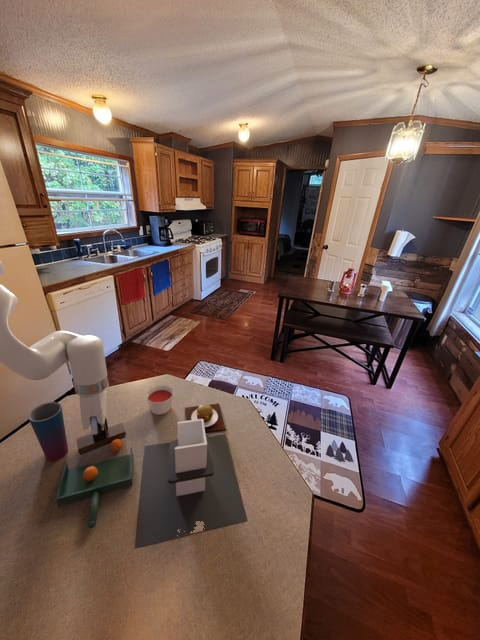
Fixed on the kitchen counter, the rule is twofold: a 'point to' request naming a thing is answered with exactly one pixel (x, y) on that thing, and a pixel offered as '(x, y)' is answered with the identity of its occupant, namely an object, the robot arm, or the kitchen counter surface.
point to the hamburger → (207, 416)
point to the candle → (160, 399)
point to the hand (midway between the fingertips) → (101, 434)
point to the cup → (50, 430)
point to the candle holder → (187, 486)
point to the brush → (112, 433)
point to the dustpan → (95, 482)
